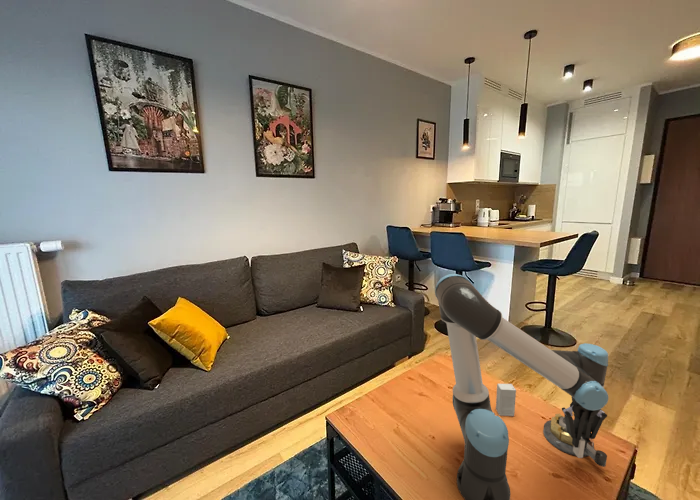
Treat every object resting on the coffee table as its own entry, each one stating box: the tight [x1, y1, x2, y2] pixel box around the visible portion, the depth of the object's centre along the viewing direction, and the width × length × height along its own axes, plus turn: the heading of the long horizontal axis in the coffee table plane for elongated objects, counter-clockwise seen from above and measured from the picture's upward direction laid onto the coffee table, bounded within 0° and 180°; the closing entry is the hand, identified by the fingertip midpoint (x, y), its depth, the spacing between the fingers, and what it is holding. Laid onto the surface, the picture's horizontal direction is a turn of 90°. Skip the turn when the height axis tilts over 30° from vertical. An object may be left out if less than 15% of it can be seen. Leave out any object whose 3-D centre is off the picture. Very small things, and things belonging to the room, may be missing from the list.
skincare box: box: [495, 383, 517, 417], centre depth 124 cm, size 6×4×12 cm
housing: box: [542, 417, 595, 458], centre depth 110 cm, size 15×15×8 cm
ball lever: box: [550, 413, 608, 468], centre depth 106 cm, size 19×11×4 cm, turn 7°
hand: (577, 454), depth 101 cm, fingers closed
